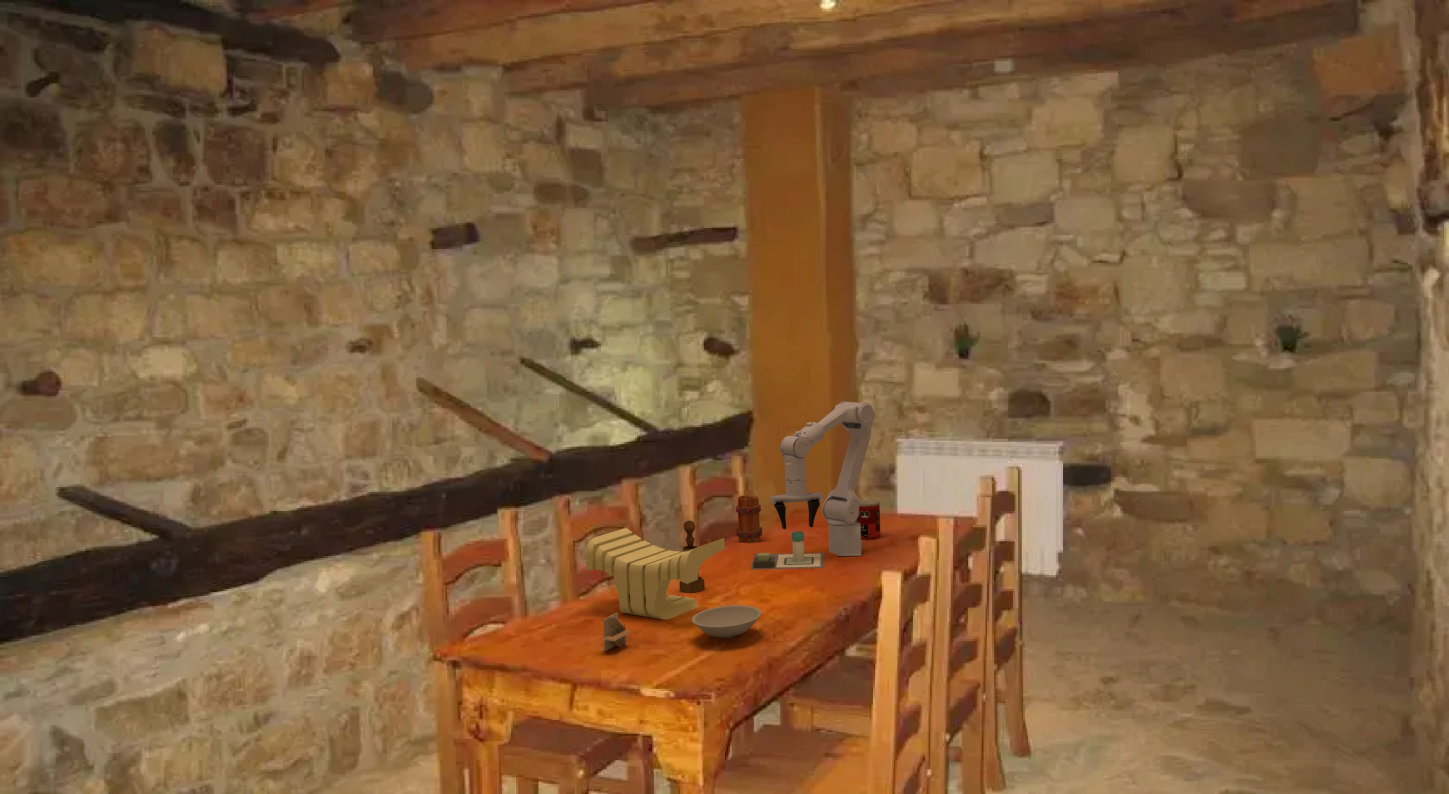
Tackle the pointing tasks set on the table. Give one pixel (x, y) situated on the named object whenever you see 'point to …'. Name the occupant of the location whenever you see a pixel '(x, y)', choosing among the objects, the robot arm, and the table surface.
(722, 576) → the table surface
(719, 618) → the dish
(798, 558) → the marker
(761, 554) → the button
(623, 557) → the slatted curved stool
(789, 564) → the colouring board
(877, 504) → the canned food
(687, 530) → the brown tall knobbed piece
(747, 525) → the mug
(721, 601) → the table surface
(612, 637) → the architectural model
